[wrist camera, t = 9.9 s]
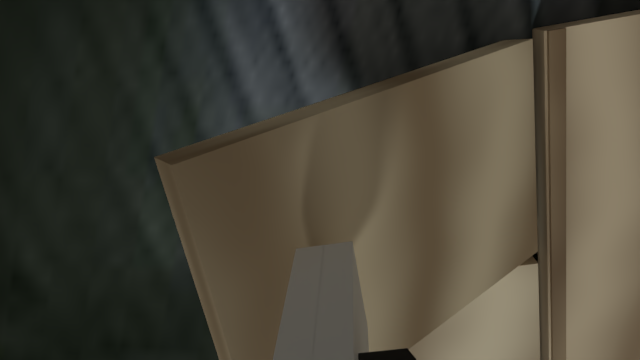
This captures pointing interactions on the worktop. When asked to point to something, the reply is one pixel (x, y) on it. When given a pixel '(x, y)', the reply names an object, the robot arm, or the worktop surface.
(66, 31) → the worktop surface
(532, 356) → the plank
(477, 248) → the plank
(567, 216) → the laid board
